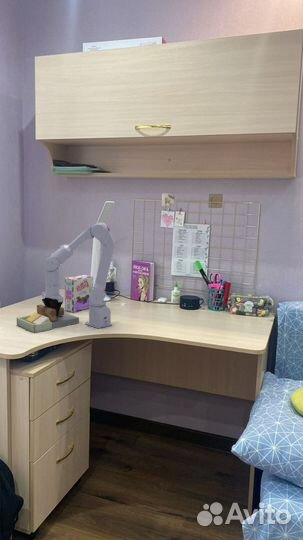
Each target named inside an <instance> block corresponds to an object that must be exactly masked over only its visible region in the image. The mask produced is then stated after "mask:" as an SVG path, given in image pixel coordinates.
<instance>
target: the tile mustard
mask: <svg viewBox="0 0 303 540" xmlns="http://www.w3.org/2000/svg"><path fill="white" fill-rule="evenodd" d="M41 316H42V315H40V314H38V313H37V312H34V313H33V314H31V316H30V317H29V318H27V319H26V320H27V322H29V323H32V324H34V323H33V322H34V321H35V320H37V319H38V318H40V317H41Z"/></svg>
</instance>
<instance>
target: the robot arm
mask: <svg viewBox="0 0 303 540" xmlns="http://www.w3.org/2000/svg"><path fill="white" fill-rule="evenodd" d="M94 238H95V239H97V240H98V241H99V243H100V244H101V246H102V251H101V254H100V255H101V256H100V260H99V264H98V268H97V274H96V277H95V280H94V281H95V282H94V283H93V291H92V292H91V294H90V295H89V301H90V303H89V309H88V321H85V323H84V324H86V325H88V326H91V327H93V328H96V329H101V328H105V327H109V326H112V325H113V324H112V321H111V319H112V317H111V315H112V313H111V312H112V311H111V309H110V307H108V306H107V302H106V300H105V298H106V296H107V293H106V285H107V281H108V278H109V277H108V276H109V273H110V267H111V265H112V258H113V255H114V251H115V247H116V242H115V239H114V236H113V234H112V230H111V228H110V227H109V226H108V224H107V223H105V222H103V221H98V222H96V223H94V224H93V225H92V226H90V227H88V228H87V229H85V230H83V231H82V232H81V233H80V234H79V235H78V236H77V237H76V238H75V239H73V240H72V241H71V242H70V243H69V244H62V245H59V247H58V249H56V251H55V252H53V253H52V252H51V254H50V256H49V257H46V259H45V260H44V262H43V267H44V270H45V274H44V275H45V277H44V279H45V283H44V284H45V287H44V288H45V291H42V292H41V297H42V299H41V301H42V304H43V305H44V306H46V307H49V308H52V309H55V310H56V317H57V316H58V315H59V310H60V307H62V305H63V304H64V303H65V296H62V295H61V294H60V274H59V267H60V265H62V264H65V263H66V261H68V260H69V259H70V258H71V257H72V256H74V250H75V249H77V248H78V247H80V246H81V245H82V244H83V243H85V242H86V241H87V240H91V239H94Z"/></svg>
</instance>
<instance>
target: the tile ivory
mask: <svg viewBox="0 0 303 540" xmlns="http://www.w3.org/2000/svg"><path fill="white" fill-rule="evenodd" d="M47 322H50V320H49V318H48V317H45V316H43V315H42V316H41V317H40V318H38V319H37V320H35V321H34V322H33V323H34V325H37V324H42V323H47Z"/></svg>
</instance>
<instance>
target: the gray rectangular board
mask: <svg viewBox="0 0 303 540" xmlns="http://www.w3.org/2000/svg"><path fill="white" fill-rule="evenodd" d="M31 315H32V314H31ZM31 315H24V316H19V317H16V326H18V327H20V328H22V329H25V330H27V331H28V332H31V333H33V334H37V333H41V332H45V331H46V332H47V331H51V330H53V329H57V328H62V327H68V326H72V325H76V324H80V317H79V316H75V315H73V314H71V313H67V312H65V311H64V315H62V316H57V317H56V320H54V321H51V320H50V322H47V323H42V324H37V325H34V324H32V323H29V322H27V320H26V319H27V318H29V317H30V316H31Z"/></svg>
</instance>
